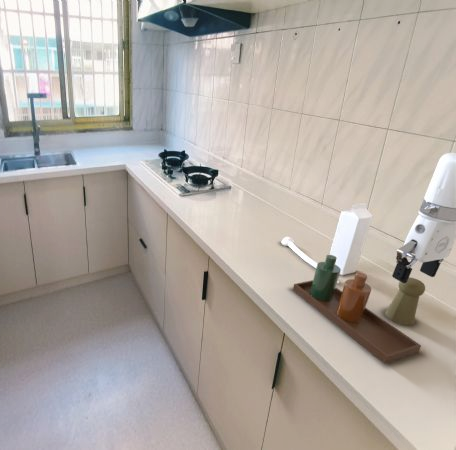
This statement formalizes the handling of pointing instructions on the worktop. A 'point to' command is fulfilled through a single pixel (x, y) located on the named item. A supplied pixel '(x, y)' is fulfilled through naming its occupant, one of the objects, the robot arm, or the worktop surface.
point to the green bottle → (325, 279)
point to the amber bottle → (354, 299)
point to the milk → (351, 237)
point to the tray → (364, 328)
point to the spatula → (299, 251)
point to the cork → (406, 302)
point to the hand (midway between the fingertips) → (413, 277)
